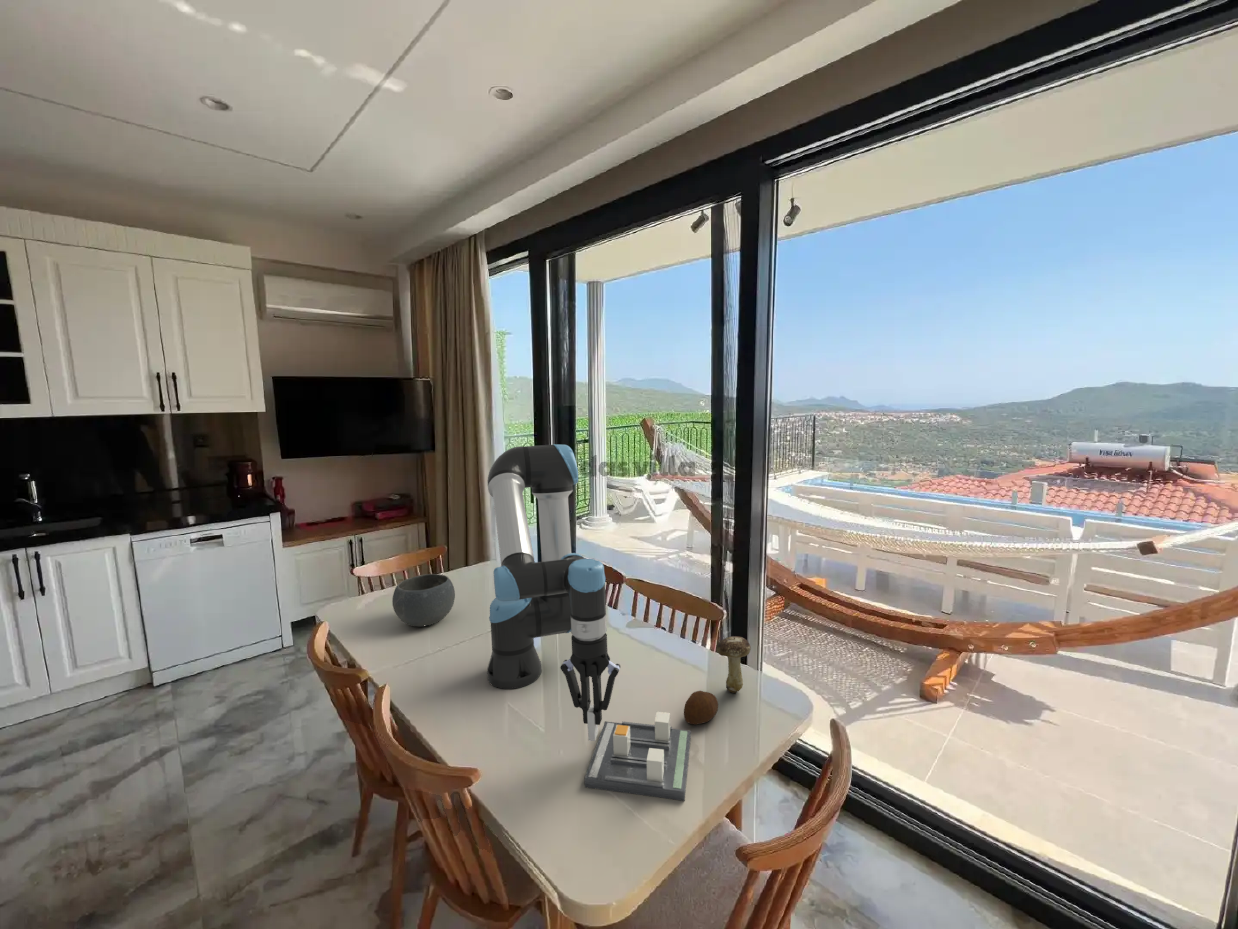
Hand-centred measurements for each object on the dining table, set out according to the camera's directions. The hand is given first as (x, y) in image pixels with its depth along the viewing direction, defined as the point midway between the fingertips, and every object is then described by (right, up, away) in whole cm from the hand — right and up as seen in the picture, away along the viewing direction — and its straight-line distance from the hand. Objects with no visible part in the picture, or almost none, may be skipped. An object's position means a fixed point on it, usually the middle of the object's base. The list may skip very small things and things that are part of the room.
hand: (593, 736), depth 110 cm
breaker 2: (+13, -3, -8) cm, 16 cm away
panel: (+10, -5, -1) cm, 11 cm away
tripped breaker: (+6, -2, -1) cm, 7 cm away
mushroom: (+36, -1, +23) cm, 42 cm away
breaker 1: (+15, -2, +3) cm, 16 cm away
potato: (+26, -3, +12) cm, 29 cm away
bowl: (-63, +3, +70) cm, 94 cm away
